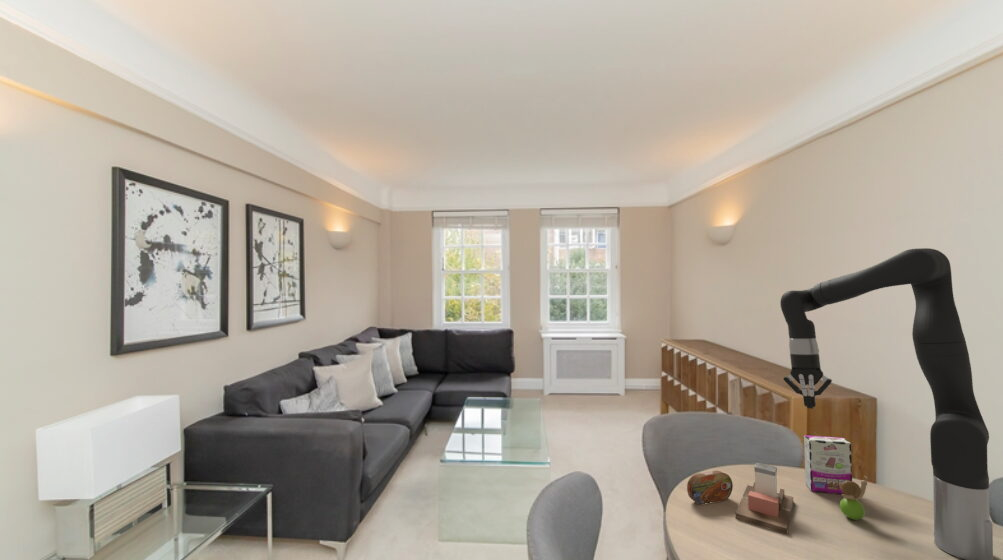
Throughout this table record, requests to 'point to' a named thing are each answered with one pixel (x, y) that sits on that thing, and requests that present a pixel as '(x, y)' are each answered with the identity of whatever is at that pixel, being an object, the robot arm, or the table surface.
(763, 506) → the pad
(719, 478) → the tin
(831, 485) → the candy bar box
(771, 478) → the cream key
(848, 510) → the snail figurine
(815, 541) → the table surface
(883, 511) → the table surface
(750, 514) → the wooden holder base
